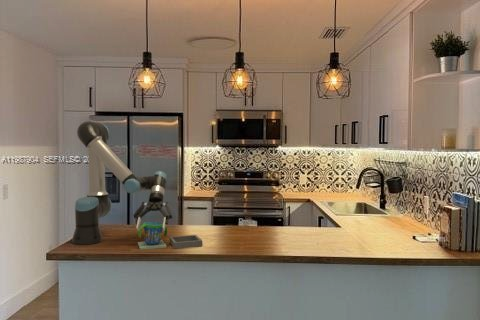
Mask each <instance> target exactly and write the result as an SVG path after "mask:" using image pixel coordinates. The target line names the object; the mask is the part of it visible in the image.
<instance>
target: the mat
mask: <svg viewBox="0 0 480 320" xmlns="http://www.w3.org/2000/svg"><path fill="white" fill-rule="evenodd" d="M137 245H138V247H139V248H138V249H139V250H140V251H143V250H153V249H154V250H155V249H167V244H166V243H165V241H164V239H161V240H160V243H159V244H147V243H145V241H137Z"/></svg>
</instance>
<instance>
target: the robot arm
mask: <svg viewBox="0 0 480 320" xmlns="http://www.w3.org/2000/svg"><path fill="white" fill-rule="evenodd" d="M76 134H77V137H78V139H79V140H80V142H81V143H82V144H83V145H84V147H85V148H86V149H87V152H88V153H87V156H88V157H87V158H88V179H89V183H88V184H89V186H88V188H89V192H88V193H87V194H86V196H85V197H80V198H77V199H76V200H75V203H74V204H75V205H74V214H75V216H74V217H75V230H74V231H73V236H72V239H71V240H72V241H71V242H72V244H74V245H79V246H80V245H81V246H82V245H84V246H85V245H94V244H98V243H101V242H102V241H103V234H102V232H101V229H100V225H99V219H101V218H103V217H106V216H107V215H108V214H110V212H111V210H112V205H113V204H112V201H111V199H110V198H109V192H107V190H106V172H105V171H106V170H105V169H106V168H108V170H109V171H110V172H111V173H112V174H113V175H114V176H115V177H116V178H117V179H118V181H119V182H121V184H122V185H123V188H124V191H125V192H126V193H128V194H136V193H139V192H141V191H148V190H150V191H149V196H148V202H145V201H142V202H141V205H140V206H139V208H137V209H136V211H135V212H134V213H133V217H134V219H135V224H136V230H137V232H139V229H140V227H141V222H142V218H143V217H144V216H145V215H146V214H148V213H149V212H157V211H159V212H160V213H161V215H162V216H164V217H163V221H162V222H163V230H162V232H163V231H164V232H165V226H166V227H167V225H169V220H171V219H173V214H172V212H171V210H170V207H169V203H168V201H165V202H164V197H165V192H166V185H167V177H168V175H167V174H166V173H165V172H164V171H162V170H157V171H155V172H154V173H153V175H150V176H149V175H148V176H136V175H135V174H134V173H133V172H132V171H131V170H130V169H129V168H128V166H127V165H126V164H125V163H124V162H123V161H122V160H121V159H120V158H119V157H118V155H116V153H115V152H114V151H113V150H112V149H111V148H110V147H109V145H108V144H107V143H108V142H107V141H108V140H109V137H110V130H109V128H108V126H106V125H105V124H104V123H101V122H95V121H84V122H82V123H80V125H79V126H78V127H77V131H76ZM105 166H106V168H105ZM163 207H164V208H165V209H166V211H165V210H164V209H163Z"/></svg>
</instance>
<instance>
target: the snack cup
mask: <svg viewBox="0 0 480 320" xmlns="http://www.w3.org/2000/svg"><path fill="white" fill-rule="evenodd" d="M142 229H143V235H144V242H145V243H147V244H159V243H160V240H162V234H163V223H162V222H155V221H150V222H149V221H147V222H143V223H142V225H140V227H139V231H137V232H138V233H137V235H138V238H139V239H140V238H141V237H142ZM163 236H164V237H167V236H168V227H167V225H166V226H165V231H164V234H163Z"/></svg>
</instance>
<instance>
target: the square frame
mask: <svg viewBox="0 0 480 320" xmlns="http://www.w3.org/2000/svg"><path fill="white" fill-rule="evenodd" d="M169 243H170V245H171V246H172V248H173V249H175V250H177V249H189V248H199V247H203V240H202V239H201V238H200V237H199V236H198V235H197V234H192V235H191V234H188V235H177V236H169Z"/></svg>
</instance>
